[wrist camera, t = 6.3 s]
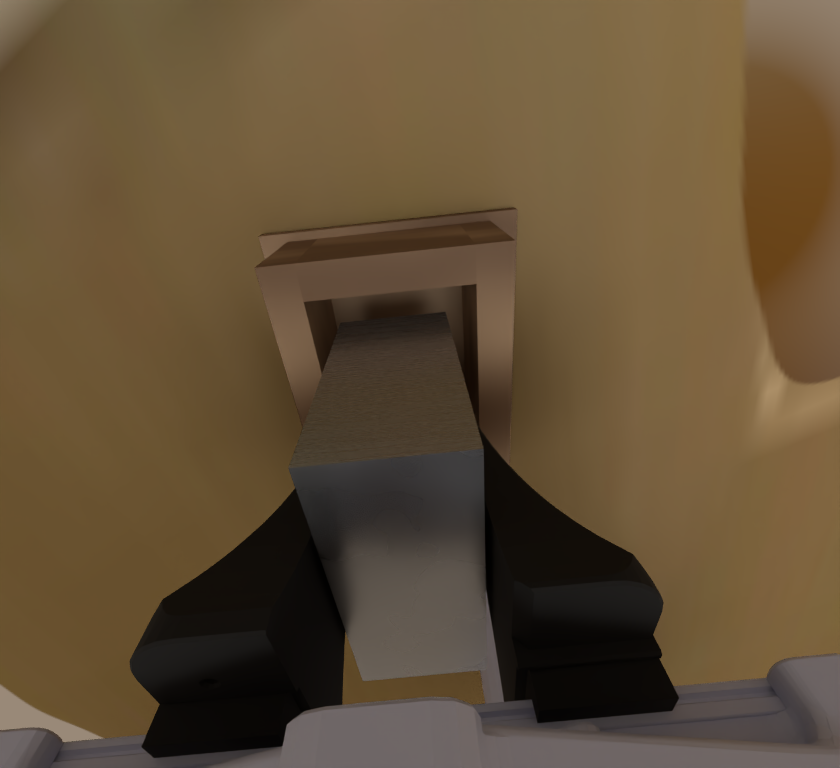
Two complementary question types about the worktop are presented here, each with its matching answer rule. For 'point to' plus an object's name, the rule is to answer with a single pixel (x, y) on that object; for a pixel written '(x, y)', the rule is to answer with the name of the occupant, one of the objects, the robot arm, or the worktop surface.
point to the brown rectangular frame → (400, 297)
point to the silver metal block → (398, 497)
